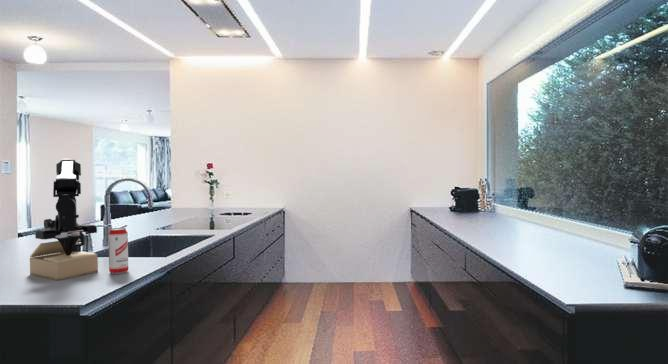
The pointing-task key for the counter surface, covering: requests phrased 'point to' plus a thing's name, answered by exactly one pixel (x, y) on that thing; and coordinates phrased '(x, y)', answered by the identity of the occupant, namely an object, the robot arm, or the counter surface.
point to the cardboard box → (62, 267)
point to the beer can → (118, 250)
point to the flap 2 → (70, 256)
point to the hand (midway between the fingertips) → (68, 255)
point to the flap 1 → (48, 249)
